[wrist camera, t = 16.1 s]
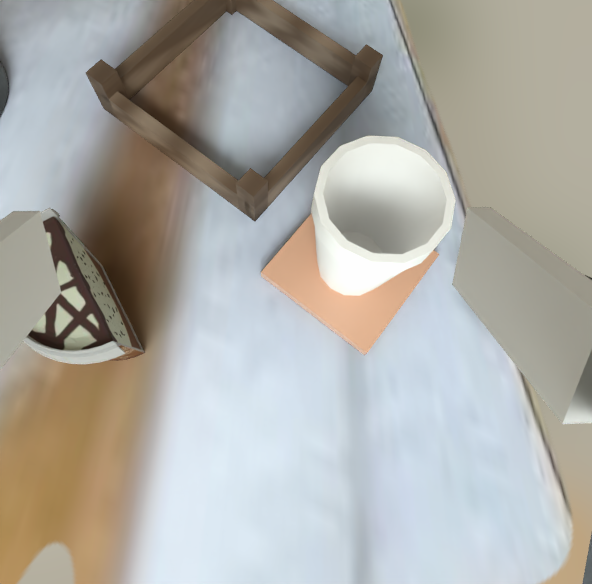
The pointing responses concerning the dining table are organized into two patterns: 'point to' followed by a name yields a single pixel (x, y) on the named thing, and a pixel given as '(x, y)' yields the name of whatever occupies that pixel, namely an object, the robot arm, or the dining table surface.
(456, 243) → the dining table surface
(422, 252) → the foam cup
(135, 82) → the frame
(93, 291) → the cake slice
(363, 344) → the terracotta tile
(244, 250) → the dining table surface
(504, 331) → the robot arm
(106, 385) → the dining table surface
